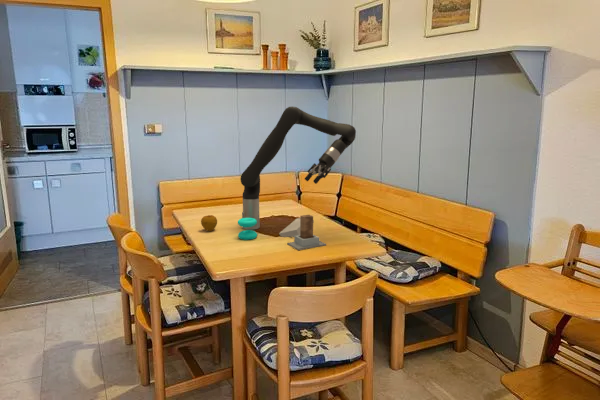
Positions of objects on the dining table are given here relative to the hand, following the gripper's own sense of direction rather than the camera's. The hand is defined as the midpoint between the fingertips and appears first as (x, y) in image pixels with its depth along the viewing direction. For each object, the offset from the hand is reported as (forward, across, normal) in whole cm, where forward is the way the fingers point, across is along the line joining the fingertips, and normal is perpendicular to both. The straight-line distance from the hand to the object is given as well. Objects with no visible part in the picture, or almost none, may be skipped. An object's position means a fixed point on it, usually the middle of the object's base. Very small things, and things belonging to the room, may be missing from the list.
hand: (310, 181), depth 231 cm
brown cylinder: (+25, +7, +17) cm, 31 cm away
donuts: (+41, -20, +3) cm, 45 cm away
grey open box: (+26, +7, +17) cm, 32 cm away
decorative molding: (+19, -22, +26) cm, 39 cm away
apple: (+50, -43, -6) cm, 66 cm away
